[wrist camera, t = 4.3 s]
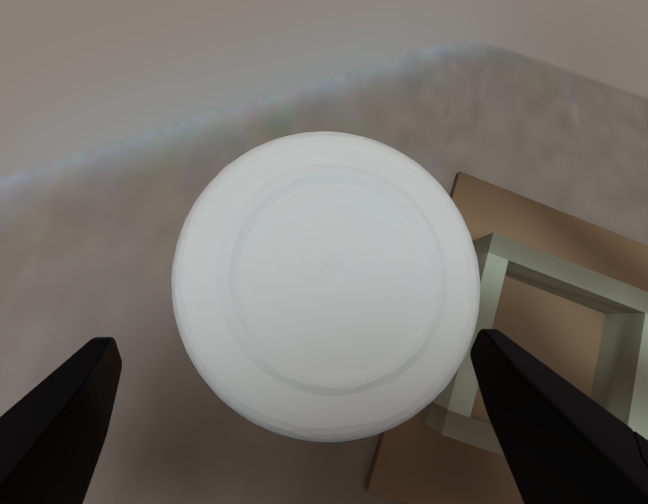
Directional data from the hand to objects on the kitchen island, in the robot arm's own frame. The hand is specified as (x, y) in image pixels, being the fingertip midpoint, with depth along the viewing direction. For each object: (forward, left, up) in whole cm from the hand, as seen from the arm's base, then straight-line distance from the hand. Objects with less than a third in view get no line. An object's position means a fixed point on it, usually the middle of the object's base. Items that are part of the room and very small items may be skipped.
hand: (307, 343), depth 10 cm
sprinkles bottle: (+1, -1, -9) cm, 9 cm away
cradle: (-7, -10, -9) cm, 15 cm away
